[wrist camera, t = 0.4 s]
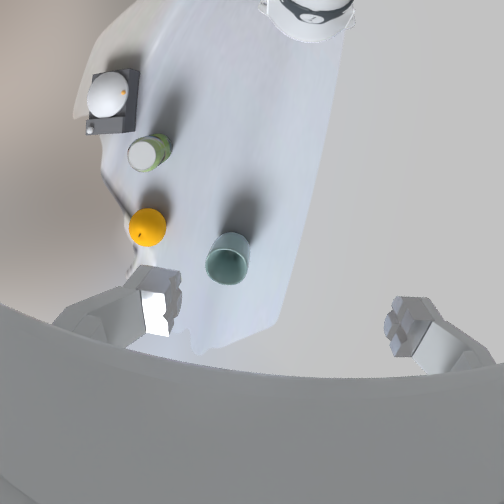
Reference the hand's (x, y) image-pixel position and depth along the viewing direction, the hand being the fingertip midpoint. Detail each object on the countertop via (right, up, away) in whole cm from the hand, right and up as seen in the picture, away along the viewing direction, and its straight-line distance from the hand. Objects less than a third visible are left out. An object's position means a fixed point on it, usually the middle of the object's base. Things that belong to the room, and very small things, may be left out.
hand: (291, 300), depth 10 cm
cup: (-5, +3, +49) cm, 49 cm away
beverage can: (-19, +22, +41) cm, 50 cm away
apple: (-23, +8, +48) cm, 54 cm away
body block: (-29, +33, +36) cm, 57 cm away
